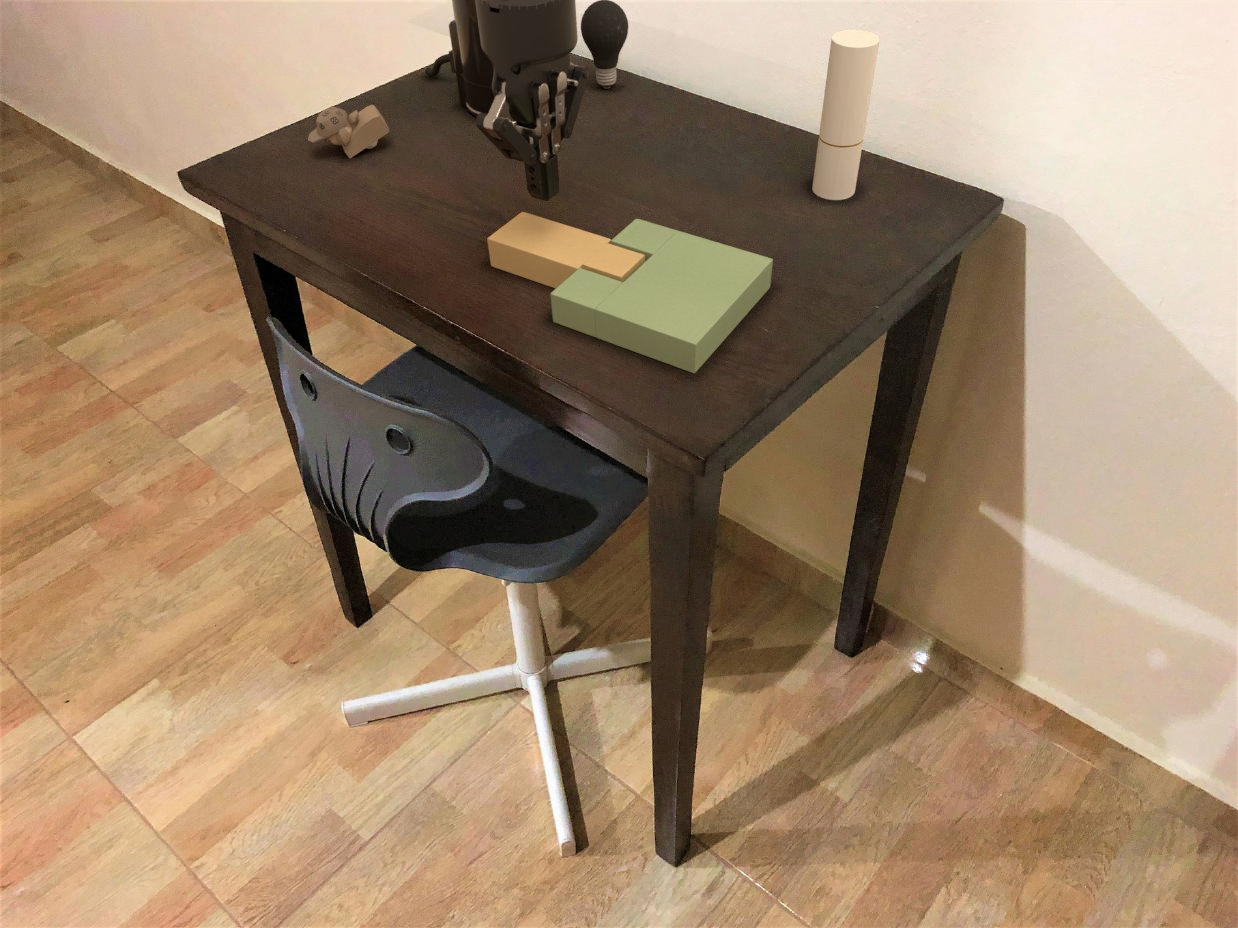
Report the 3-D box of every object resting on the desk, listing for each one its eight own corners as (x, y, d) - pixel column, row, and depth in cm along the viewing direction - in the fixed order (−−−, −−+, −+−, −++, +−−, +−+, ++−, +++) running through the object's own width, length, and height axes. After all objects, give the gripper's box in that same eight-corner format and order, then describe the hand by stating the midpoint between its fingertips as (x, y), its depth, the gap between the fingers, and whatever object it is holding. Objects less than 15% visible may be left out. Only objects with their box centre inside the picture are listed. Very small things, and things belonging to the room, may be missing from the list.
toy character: (332, 165, 106) (297, 123, 102) (389, 125, 106) (357, 82, 101) (338, 181, 104) (303, 139, 99) (396, 141, 103) (364, 96, 99)
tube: (854, 201, 93) (879, 49, 83) (811, 198, 94) (830, 46, 83) (855, 181, 96) (879, 31, 86) (813, 178, 97) (832, 28, 86)
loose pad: (490, 266, 87) (486, 238, 85) (525, 239, 90) (522, 211, 88) (617, 310, 81) (616, 281, 79) (649, 279, 85) (649, 250, 82)
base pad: (552, 322, 80) (549, 293, 78) (636, 246, 89) (636, 218, 87) (694, 374, 75) (695, 344, 73) (770, 287, 83) (773, 258, 81)
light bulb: (576, 93, 113) (571, 7, 106) (594, 75, 117) (590, -10, 110) (619, 99, 112) (616, 12, 105) (636, 81, 115) (635, -5, 108)
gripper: (534, -49, 75) (552, 155, 87) (427, 3, 67) (463, 219, 79) (613, -35, 72) (620, 174, 84) (511, 21, 64) (535, 242, 76)
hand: (544, 195), depth 81 cm, fingers closed
